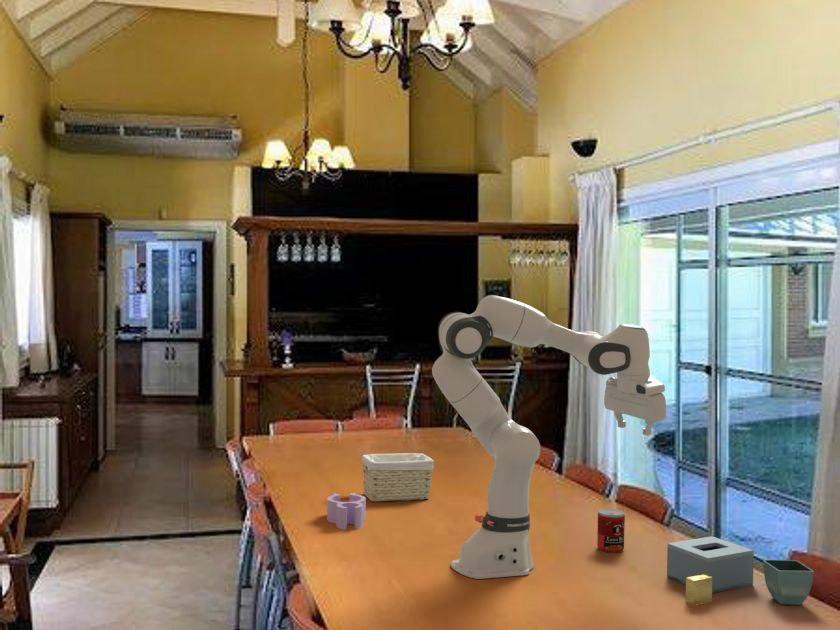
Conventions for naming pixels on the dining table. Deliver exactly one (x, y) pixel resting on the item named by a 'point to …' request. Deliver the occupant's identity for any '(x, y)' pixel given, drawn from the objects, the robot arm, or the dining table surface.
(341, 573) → the dining table surface
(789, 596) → the flower pot
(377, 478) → the storage basket
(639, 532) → the dining table surface
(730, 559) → the tissue box
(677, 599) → the dining table surface
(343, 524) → the clip
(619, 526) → the canned food
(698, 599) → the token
